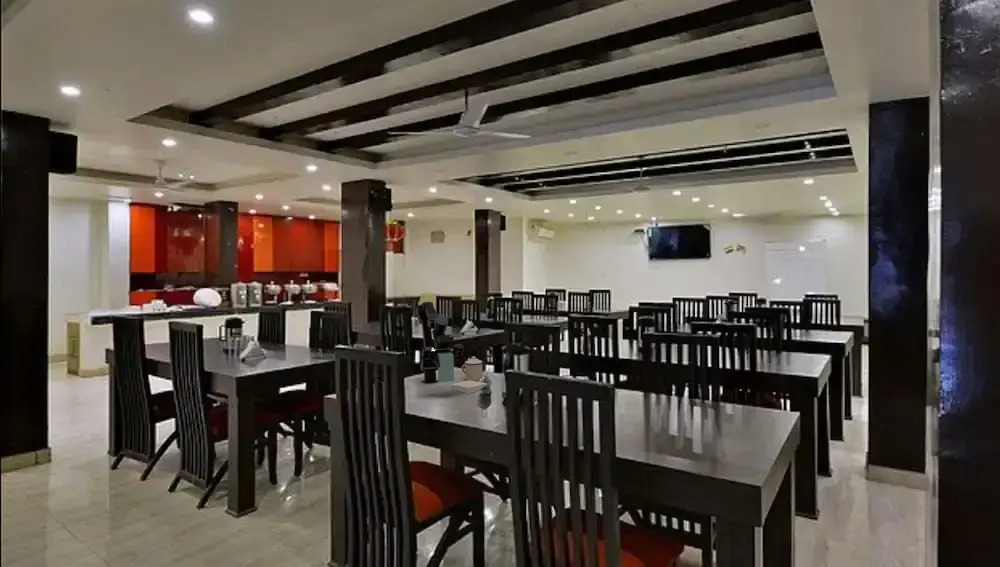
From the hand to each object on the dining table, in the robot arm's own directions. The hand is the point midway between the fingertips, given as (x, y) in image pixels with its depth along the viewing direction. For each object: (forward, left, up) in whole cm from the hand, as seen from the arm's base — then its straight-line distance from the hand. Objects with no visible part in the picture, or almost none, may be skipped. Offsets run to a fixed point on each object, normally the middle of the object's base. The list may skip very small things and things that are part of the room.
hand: (446, 366), depth 264 cm
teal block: (-1, 0, -7) cm, 7 cm away
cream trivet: (-5, +15, -13) cm, 21 cm away
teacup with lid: (-23, +29, -14) cm, 40 cm away
